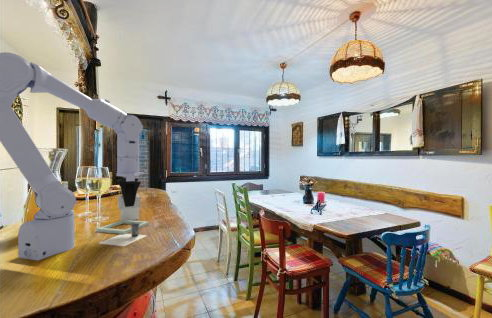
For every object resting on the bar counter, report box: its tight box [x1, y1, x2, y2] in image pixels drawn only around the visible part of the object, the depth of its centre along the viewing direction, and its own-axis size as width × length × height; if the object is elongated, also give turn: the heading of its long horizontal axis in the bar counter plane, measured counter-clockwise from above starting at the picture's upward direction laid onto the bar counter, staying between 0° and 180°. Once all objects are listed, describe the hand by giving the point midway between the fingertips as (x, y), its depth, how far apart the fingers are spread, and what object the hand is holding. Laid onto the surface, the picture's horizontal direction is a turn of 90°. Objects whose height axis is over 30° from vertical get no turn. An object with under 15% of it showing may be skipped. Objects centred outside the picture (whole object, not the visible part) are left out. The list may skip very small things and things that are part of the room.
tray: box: [96, 219, 150, 235], centre depth 71 cm, size 10×10×2 cm
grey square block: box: [117, 193, 141, 210], centre depth 67 cm, size 5×5×3 cm
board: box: [98, 233, 147, 247], centre depth 61 cm, size 8×8×1 cm
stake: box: [130, 223, 140, 237], centre depth 63 cm, size 2×2×3 cm
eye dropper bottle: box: [120, 207, 140, 221], centre depth 81 cm, size 4×6×12 cm
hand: (128, 204), depth 66 cm, fingers closed on grey square block, 5 cm apart
